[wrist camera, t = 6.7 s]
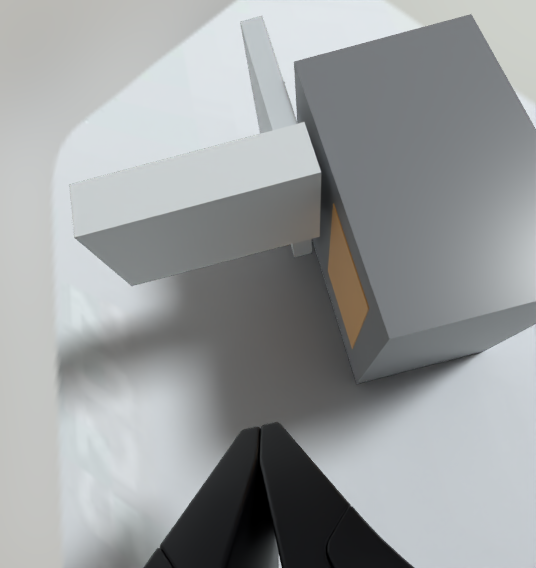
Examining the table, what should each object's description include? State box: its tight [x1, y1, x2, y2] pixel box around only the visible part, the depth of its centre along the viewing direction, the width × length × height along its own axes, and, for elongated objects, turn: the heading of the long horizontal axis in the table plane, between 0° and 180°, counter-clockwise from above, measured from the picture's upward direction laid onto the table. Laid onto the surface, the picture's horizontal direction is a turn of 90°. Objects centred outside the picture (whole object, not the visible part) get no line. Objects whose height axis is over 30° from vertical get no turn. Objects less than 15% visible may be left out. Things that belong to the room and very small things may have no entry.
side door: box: [69, 16, 321, 286], centre depth 15 cm, size 6×6×7 cm
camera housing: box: [294, 14, 536, 384], centre depth 15 cm, size 9×5×8 cm, turn 14°
